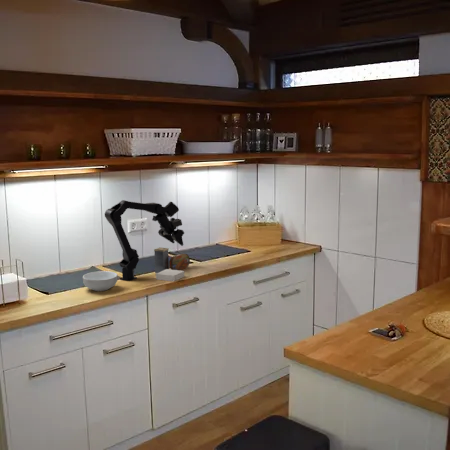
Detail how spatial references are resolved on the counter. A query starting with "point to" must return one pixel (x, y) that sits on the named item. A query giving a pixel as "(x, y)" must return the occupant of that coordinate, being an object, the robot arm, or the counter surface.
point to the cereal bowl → (100, 280)
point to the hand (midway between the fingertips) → (178, 244)
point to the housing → (161, 259)
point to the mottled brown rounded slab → (179, 262)
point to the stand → (169, 275)
